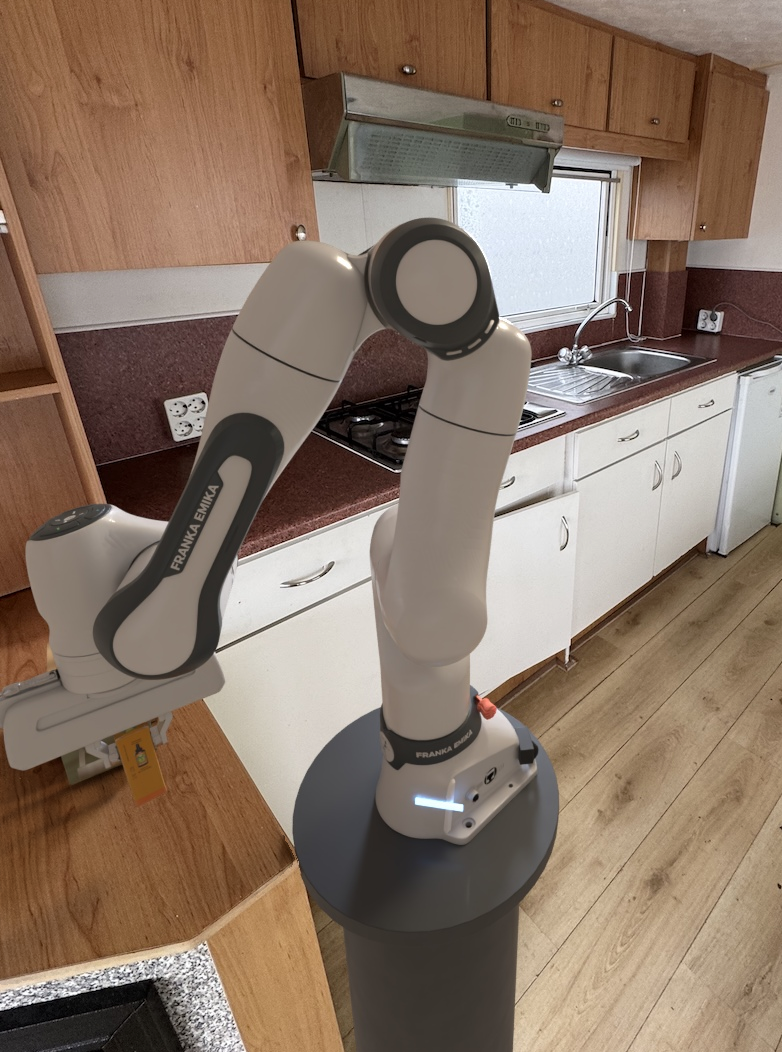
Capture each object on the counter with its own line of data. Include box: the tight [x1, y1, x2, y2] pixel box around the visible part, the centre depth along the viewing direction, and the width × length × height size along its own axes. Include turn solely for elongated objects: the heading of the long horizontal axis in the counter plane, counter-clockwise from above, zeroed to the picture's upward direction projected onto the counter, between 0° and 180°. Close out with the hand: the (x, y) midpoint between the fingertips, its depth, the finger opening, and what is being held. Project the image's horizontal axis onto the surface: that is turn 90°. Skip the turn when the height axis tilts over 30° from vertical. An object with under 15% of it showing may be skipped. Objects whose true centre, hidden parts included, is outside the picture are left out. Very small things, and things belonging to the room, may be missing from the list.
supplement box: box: [114, 722, 168, 808], centre depth 66 cm, size 3×3×10 cm
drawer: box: [60, 720, 158, 786], centre depth 83 cm, size 18×10×9 cm, turn 37°
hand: (137, 751), depth 66 cm, fingers closed on supplement box, 3 cm apart
